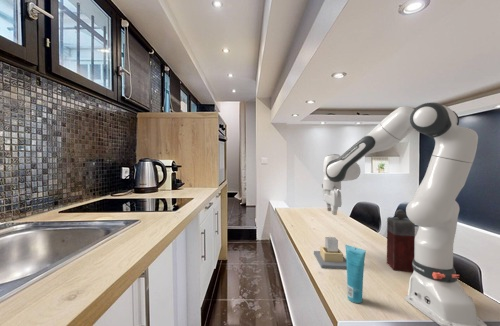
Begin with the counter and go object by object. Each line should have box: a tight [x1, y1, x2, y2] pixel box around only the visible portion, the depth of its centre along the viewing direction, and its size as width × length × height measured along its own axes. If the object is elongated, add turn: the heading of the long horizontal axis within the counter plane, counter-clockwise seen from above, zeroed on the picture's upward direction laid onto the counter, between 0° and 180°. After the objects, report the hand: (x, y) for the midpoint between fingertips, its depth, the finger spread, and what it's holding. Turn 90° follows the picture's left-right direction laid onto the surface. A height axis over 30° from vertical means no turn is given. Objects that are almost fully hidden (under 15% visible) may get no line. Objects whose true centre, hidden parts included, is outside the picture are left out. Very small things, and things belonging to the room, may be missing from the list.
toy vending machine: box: [386, 209, 416, 273], centre depth 114 cm, size 9×11×28 cm
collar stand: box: [313, 246, 347, 270], centre depth 119 cm, size 18×14×6 cm
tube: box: [344, 244, 367, 304], centre depth 85 cm, size 7×5×19 cm, turn 47°
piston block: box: [324, 236, 339, 253], centre depth 119 cm, size 5×5×10 cm
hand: (331, 212), depth 119 cm, fingers open, 8 cm apart
